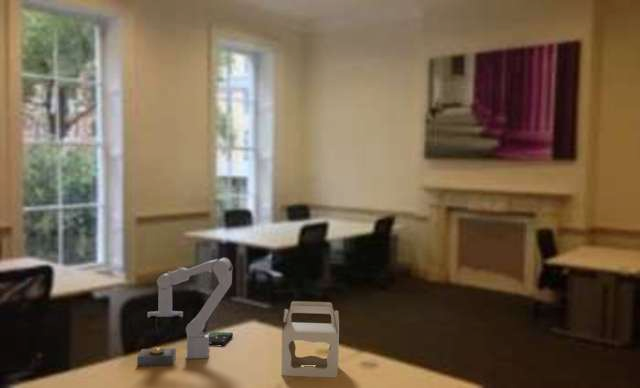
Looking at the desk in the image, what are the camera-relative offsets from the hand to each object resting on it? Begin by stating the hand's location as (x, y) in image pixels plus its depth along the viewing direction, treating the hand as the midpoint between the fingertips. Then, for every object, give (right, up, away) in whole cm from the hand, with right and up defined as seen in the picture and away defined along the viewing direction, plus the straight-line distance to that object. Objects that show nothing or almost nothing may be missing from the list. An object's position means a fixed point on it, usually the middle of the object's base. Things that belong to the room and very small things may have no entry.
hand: (165, 333), depth 253 cm
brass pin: (-1, -10, -9) cm, 13 cm away
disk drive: (+19, -10, +23) cm, 31 cm away
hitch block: (-1, -10, -9) cm, 13 cm away
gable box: (+62, -11, -17) cm, 66 cm away
